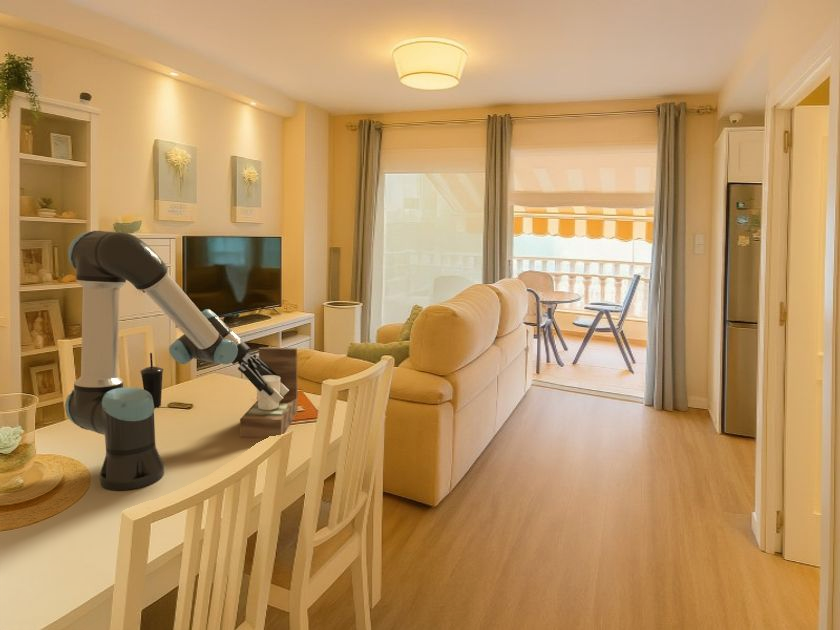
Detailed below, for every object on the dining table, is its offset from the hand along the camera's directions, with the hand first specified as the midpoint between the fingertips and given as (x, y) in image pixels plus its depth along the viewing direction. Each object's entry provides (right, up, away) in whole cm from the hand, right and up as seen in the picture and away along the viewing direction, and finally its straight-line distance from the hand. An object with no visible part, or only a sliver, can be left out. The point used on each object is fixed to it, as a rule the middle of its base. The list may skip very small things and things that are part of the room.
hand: (283, 396), depth 186 cm
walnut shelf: (-5, -10, +4) cm, 12 cm away
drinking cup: (-53, -6, +19) cm, 56 cm away
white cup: (-5, -4, +1) cm, 6 cm away
